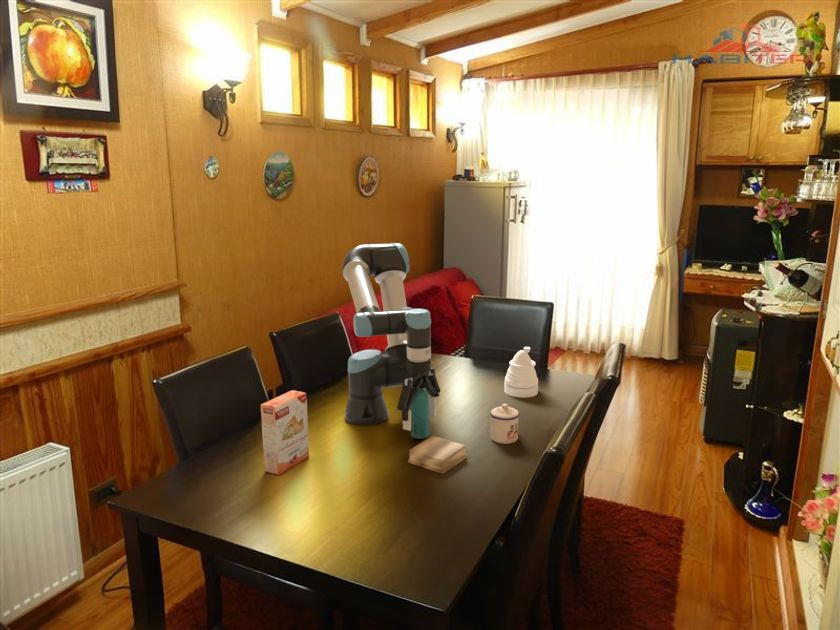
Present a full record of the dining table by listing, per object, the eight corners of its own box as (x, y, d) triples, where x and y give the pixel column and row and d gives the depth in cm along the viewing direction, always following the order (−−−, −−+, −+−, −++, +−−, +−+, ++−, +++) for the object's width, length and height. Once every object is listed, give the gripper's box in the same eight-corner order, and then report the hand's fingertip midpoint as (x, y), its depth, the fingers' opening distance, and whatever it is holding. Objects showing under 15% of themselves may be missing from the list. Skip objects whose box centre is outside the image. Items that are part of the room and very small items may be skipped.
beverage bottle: (433, 436, 203) (433, 378, 198) (425, 444, 197) (424, 384, 192) (415, 433, 205) (414, 375, 201) (406, 441, 200) (405, 381, 195)
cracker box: (279, 476, 178) (275, 407, 173) (263, 472, 181) (258, 404, 176) (311, 456, 190) (307, 391, 185) (295, 452, 193) (291, 388, 188)
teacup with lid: (511, 446, 195) (512, 411, 192) (485, 440, 199) (485, 406, 197) (526, 432, 205) (527, 399, 202) (500, 427, 209) (501, 394, 207)
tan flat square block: (408, 462, 185) (407, 450, 184) (432, 447, 195) (432, 435, 194) (443, 474, 178) (443, 461, 177) (466, 457, 188) (466, 445, 187)
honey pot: (543, 389, 244) (544, 345, 240) (530, 399, 233) (531, 353, 229) (512, 383, 251) (513, 340, 246) (498, 393, 240) (499, 348, 236)
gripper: (404, 371, 183) (405, 438, 188) (450, 351, 203) (451, 412, 208) (384, 367, 187) (386, 432, 192) (431, 347, 207) (432, 407, 212)
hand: (419, 422), depth 200 cm, fingers open, 13 cm apart
